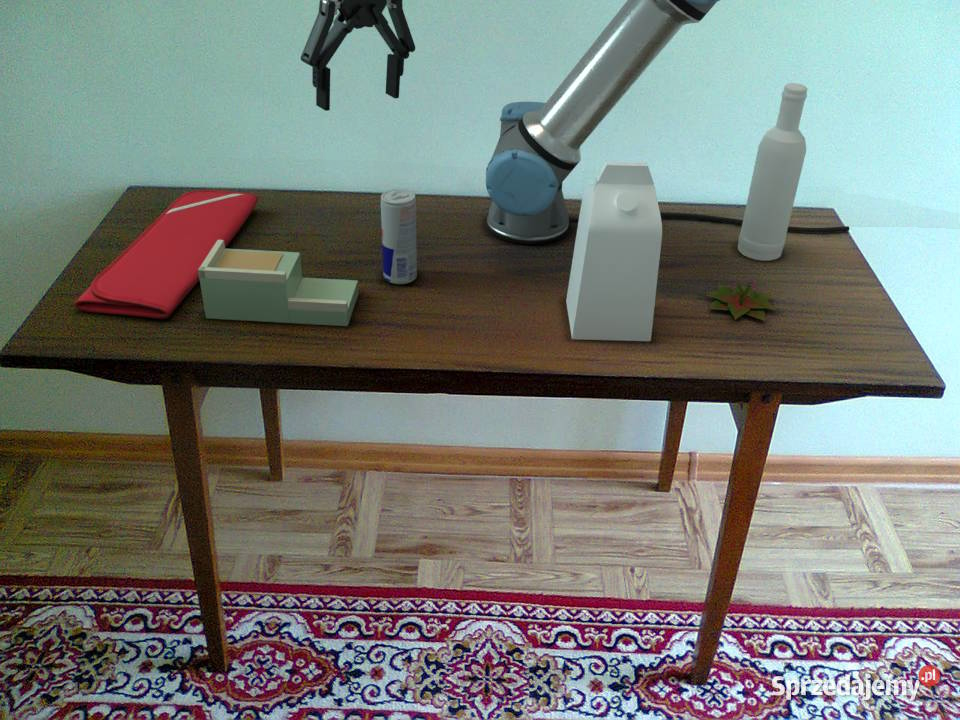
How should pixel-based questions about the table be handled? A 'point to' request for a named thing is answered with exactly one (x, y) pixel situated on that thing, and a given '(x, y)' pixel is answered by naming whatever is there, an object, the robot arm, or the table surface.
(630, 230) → the milk
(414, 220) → the beverage can
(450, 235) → the table surface
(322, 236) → the table surface
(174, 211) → the dish drying mat
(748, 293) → the lily flower
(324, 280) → the green stepped stand
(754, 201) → the bottle
